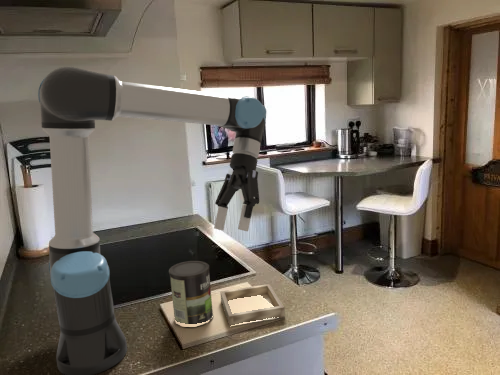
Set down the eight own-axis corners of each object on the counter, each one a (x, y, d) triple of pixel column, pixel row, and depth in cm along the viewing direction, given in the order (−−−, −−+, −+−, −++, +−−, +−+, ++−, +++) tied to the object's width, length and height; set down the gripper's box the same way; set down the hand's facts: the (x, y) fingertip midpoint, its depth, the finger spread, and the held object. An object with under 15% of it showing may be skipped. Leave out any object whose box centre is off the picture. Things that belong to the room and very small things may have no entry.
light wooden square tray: (229, 327, 106) (229, 316, 105) (221, 301, 120) (220, 291, 119) (284, 317, 109) (284, 307, 108) (270, 293, 122) (269, 283, 122)
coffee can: (217, 309, 115) (213, 260, 112) (206, 329, 105) (202, 276, 102) (182, 307, 117) (177, 259, 114) (168, 327, 108) (162, 275, 105)
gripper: (281, 154, 111) (266, 233, 107) (234, 165, 132) (220, 231, 128) (258, 145, 107) (242, 227, 103) (213, 158, 128) (198, 226, 124)
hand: (230, 230), depth 116 cm, fingers open, 13 cm apart
